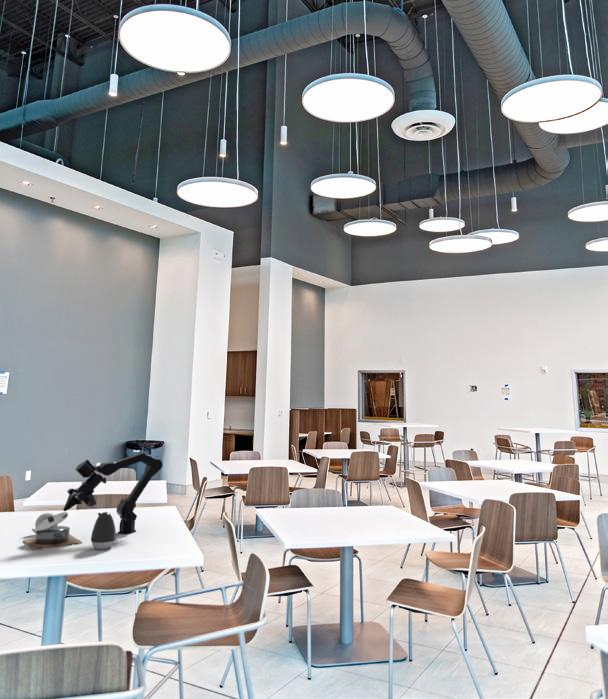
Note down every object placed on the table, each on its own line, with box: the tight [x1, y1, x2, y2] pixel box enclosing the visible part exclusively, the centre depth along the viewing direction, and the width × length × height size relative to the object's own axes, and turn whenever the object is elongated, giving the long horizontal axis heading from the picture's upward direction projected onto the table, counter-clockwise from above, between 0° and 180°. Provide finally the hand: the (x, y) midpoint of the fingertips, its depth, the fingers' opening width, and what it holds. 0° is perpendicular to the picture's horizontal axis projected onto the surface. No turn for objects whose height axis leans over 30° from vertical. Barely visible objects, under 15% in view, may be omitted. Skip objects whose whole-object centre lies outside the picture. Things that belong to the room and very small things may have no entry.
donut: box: [34, 512, 59, 528], centre depth 246 cm, size 10×4×10 cm, turn 110°
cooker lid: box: [31, 511, 69, 534], centre depth 229 cm, size 15×14×3 cm
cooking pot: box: [35, 525, 71, 545], centre depth 229 cm, size 14×22×5 cm, turn 40°
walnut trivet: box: [22, 533, 83, 551], centre depth 229 cm, size 20×20×1 cm
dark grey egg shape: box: [90, 511, 117, 551], centre depth 221 cm, size 10×10×15 cm
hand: (63, 510), depth 233 cm, fingers closed
